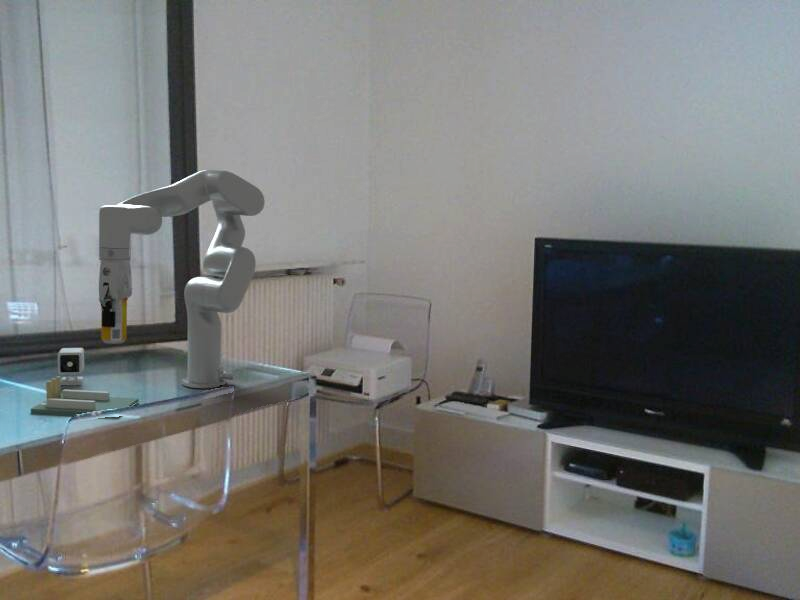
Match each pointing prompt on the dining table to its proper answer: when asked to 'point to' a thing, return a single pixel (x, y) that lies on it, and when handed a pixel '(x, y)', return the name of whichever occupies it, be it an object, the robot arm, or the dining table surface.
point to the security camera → (71, 365)
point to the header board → (77, 401)
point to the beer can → (116, 323)
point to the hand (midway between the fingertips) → (114, 324)
